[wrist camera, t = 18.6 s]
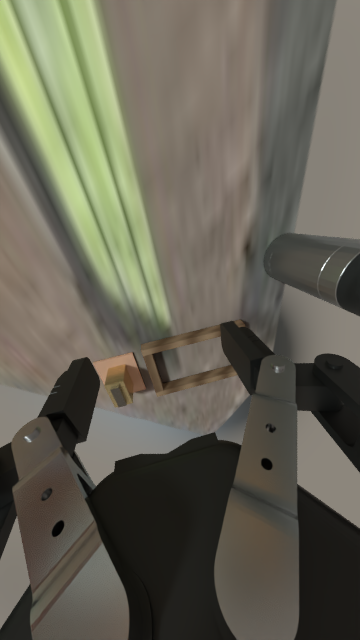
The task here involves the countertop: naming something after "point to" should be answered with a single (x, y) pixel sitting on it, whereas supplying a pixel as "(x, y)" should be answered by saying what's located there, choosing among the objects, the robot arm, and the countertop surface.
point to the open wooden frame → (179, 341)
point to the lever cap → (119, 386)
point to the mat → (117, 361)
